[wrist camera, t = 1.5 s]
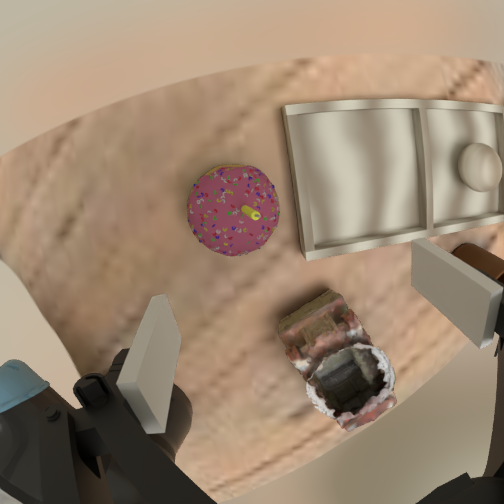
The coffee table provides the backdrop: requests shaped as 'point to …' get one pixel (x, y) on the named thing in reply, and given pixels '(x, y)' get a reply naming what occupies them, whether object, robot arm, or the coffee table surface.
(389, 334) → the coffee table surface
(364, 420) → the decorative box
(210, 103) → the coffee table surface
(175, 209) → the coffee table surface
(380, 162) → the divided tray
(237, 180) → the cupcake
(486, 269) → the mug
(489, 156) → the wooden egg
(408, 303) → the coffee table surface
